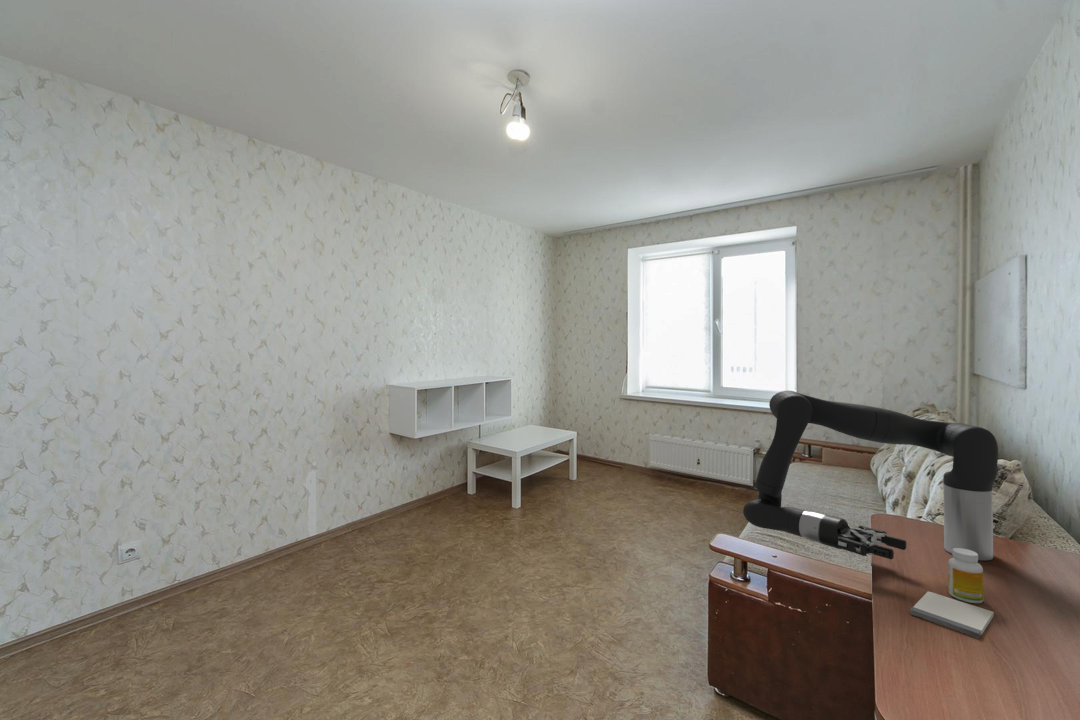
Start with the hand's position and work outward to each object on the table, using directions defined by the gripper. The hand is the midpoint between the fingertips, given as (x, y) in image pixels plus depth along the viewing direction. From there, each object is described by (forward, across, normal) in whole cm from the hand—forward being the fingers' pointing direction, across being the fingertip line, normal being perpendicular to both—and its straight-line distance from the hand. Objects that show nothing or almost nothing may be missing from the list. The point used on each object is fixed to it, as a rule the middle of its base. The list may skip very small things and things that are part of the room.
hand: (899, 550), depth 105 cm
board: (+11, -11, +6) cm, 17 cm away
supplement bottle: (+11, 0, +6) cm, 13 cm away
